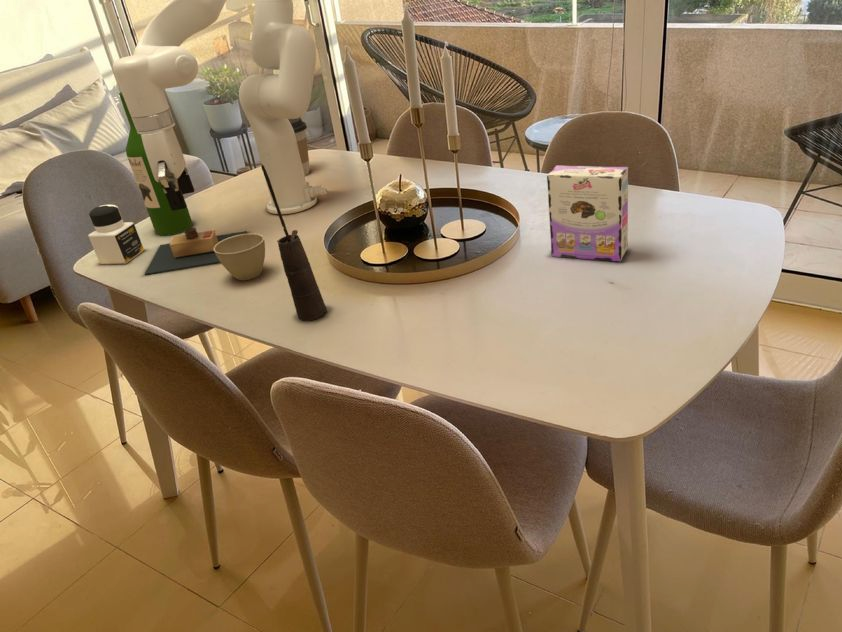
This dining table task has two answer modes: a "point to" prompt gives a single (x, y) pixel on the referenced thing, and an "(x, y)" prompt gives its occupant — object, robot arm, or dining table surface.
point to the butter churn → (298, 271)
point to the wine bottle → (153, 187)
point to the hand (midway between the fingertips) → (183, 200)
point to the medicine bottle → (113, 236)
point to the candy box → (588, 212)
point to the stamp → (193, 243)
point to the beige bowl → (242, 255)
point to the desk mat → (167, 262)
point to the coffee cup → (301, 142)
